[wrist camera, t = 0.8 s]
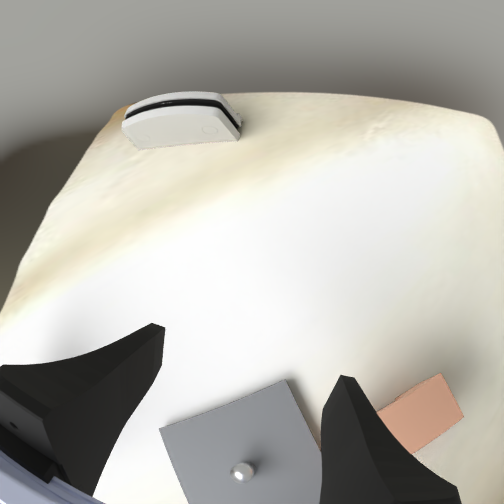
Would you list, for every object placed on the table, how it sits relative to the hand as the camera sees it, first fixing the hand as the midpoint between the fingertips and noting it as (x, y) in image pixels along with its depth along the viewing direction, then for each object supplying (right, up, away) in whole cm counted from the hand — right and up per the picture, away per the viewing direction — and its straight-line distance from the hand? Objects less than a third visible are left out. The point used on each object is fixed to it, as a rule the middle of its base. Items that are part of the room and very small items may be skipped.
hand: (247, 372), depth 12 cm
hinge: (-9, +21, +33) cm, 40 cm away
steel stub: (0, -13, +10) cm, 17 cm away
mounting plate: (0, -13, +10) cm, 17 cm away
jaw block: (+12, -10, +10) cm, 18 cm away
